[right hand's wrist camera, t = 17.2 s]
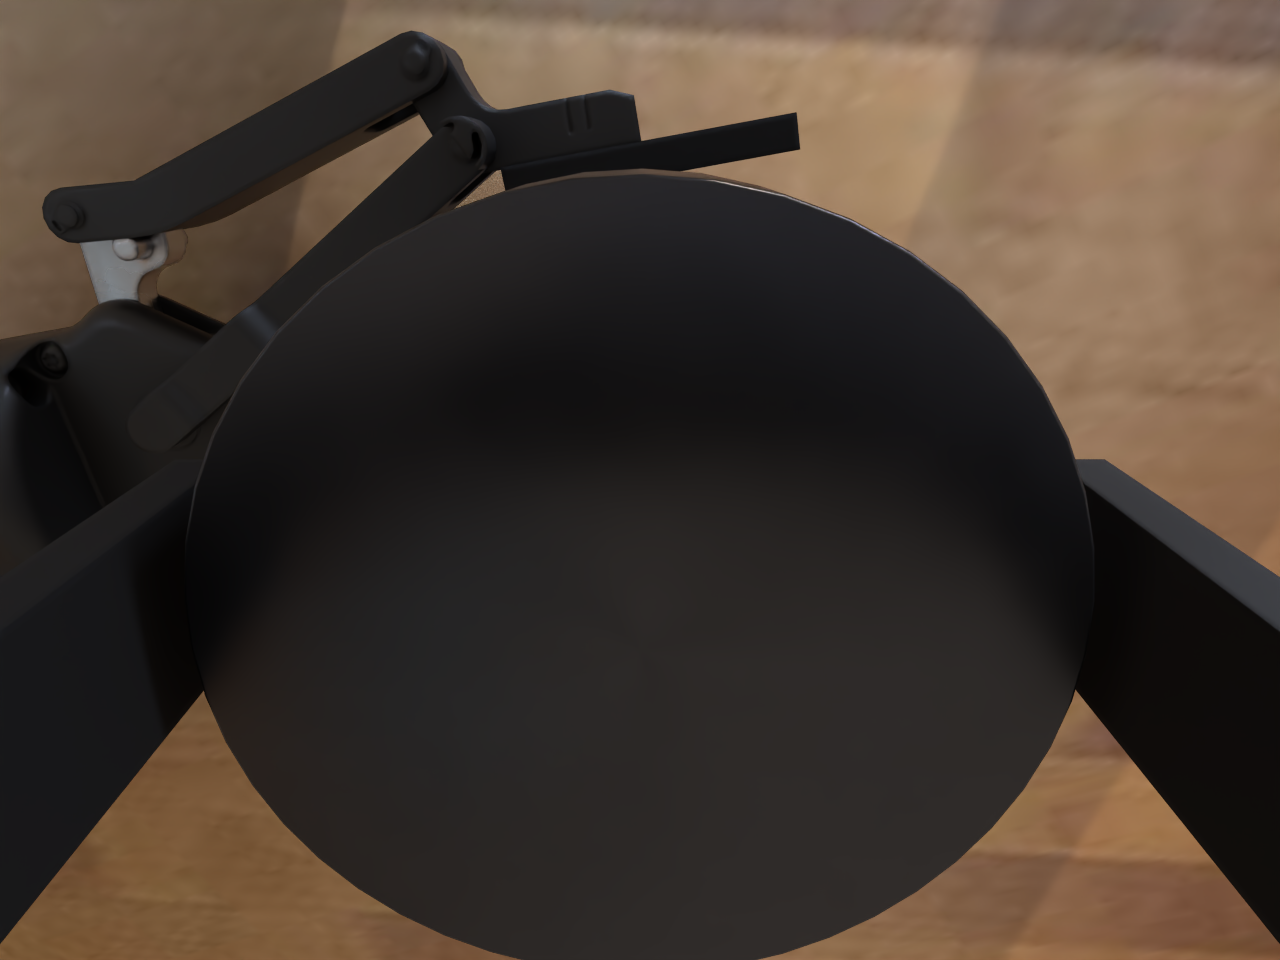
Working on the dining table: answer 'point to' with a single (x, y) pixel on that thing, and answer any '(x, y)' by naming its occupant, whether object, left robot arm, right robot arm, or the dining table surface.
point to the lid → (639, 571)
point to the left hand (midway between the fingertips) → (810, 351)
